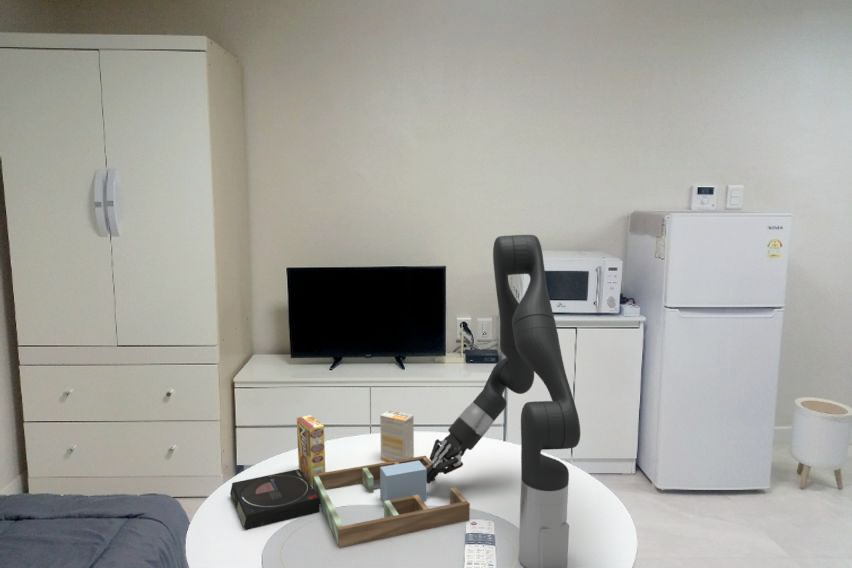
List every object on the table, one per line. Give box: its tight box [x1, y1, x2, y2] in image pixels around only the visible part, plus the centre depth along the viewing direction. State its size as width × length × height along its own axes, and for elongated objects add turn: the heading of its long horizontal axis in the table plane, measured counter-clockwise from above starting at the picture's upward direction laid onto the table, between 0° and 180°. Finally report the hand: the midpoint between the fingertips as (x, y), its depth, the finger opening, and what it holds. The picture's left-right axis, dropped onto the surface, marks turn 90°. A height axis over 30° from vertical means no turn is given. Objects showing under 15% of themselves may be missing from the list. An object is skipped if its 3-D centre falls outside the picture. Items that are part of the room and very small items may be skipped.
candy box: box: [296, 414, 326, 487], centre depth 159 cm, size 9×4×15 cm, turn 34°
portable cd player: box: [229, 468, 321, 531], centre depth 147 cm, size 16×17×4 cm
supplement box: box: [379, 409, 415, 462], centre depth 170 cm, size 8×5×13 cm, turn 58°
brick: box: [379, 461, 428, 504], centre depth 149 cm, size 5×10×8 cm, turn 111°
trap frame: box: [312, 455, 471, 549], centre depth 147 cm, size 27×30×4 cm
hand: (425, 480), depth 151 cm, fingers closed
